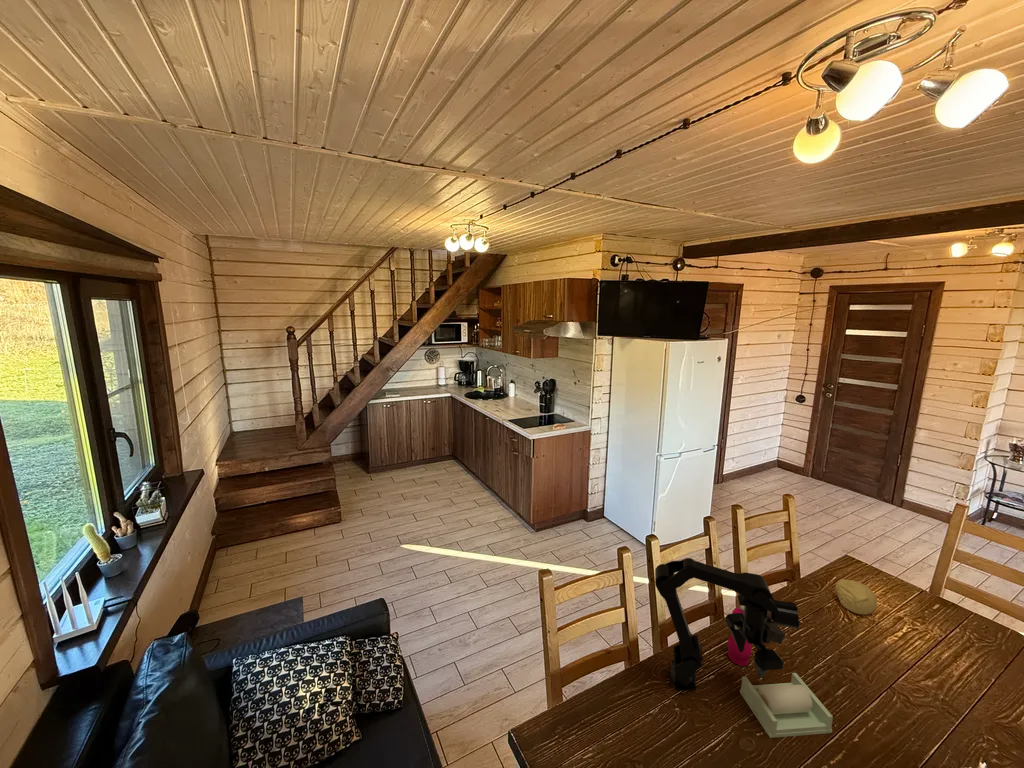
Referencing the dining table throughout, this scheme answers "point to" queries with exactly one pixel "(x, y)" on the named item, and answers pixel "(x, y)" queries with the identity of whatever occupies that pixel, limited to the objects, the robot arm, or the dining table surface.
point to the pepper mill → (733, 651)
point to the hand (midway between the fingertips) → (750, 664)
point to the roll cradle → (790, 722)
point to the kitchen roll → (786, 699)
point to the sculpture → (856, 596)
